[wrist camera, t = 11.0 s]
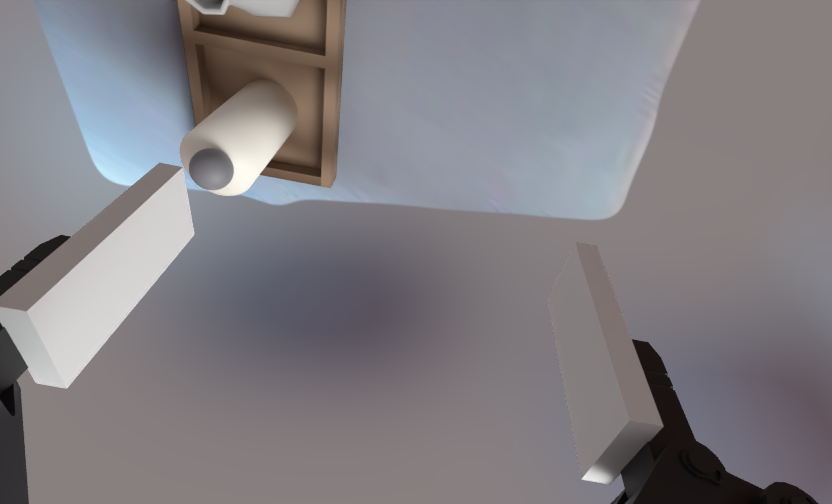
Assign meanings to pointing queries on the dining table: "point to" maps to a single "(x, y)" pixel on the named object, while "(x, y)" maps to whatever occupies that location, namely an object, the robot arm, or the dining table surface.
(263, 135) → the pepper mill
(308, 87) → the tray
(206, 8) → the flask
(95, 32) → the dining table surface
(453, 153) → the dining table surface
